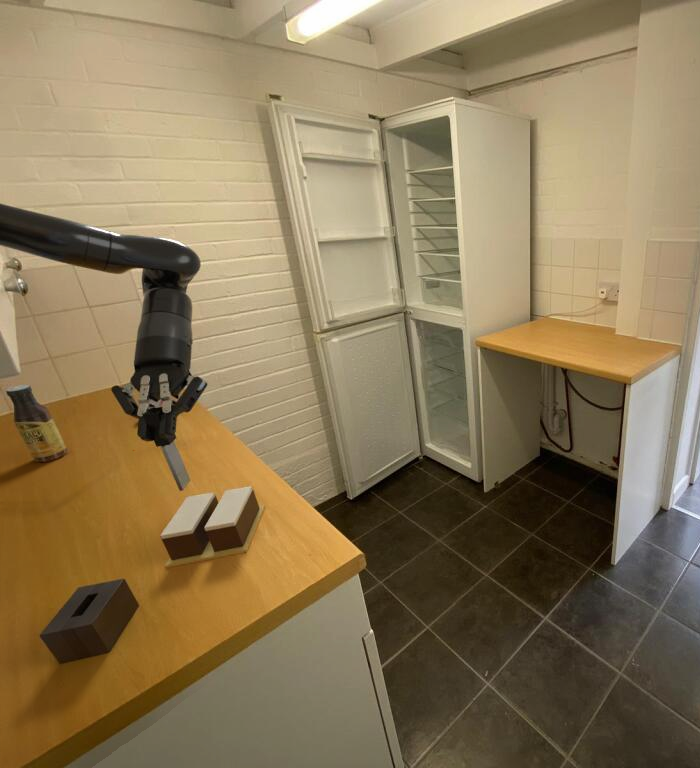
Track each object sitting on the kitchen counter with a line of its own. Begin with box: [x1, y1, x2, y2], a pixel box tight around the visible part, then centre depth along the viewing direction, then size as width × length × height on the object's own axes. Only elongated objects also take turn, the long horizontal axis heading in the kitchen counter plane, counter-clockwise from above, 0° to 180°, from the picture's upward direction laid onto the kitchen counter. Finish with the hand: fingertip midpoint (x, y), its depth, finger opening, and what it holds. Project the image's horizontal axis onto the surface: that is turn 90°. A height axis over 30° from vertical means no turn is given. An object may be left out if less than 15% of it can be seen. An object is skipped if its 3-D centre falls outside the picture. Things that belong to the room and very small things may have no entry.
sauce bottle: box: [5, 384, 68, 463], centre depth 105 cm, size 6×6×20 cm
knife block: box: [38, 578, 140, 665], centre depth 62 cm, size 8×6×6 cm
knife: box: [143, 407, 192, 492], centre depth 71 cm, size 3×2×15 cm, turn 15°
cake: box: [160, 485, 266, 569], centre depth 80 cm, size 13×13×6 cm
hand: (156, 438), depth 67 cm, fingers closed on knife, 2 cm apart
